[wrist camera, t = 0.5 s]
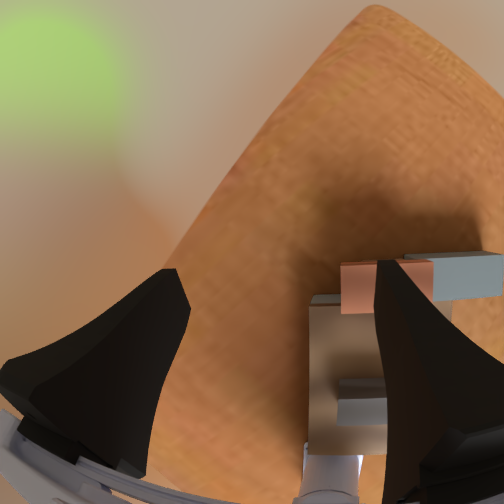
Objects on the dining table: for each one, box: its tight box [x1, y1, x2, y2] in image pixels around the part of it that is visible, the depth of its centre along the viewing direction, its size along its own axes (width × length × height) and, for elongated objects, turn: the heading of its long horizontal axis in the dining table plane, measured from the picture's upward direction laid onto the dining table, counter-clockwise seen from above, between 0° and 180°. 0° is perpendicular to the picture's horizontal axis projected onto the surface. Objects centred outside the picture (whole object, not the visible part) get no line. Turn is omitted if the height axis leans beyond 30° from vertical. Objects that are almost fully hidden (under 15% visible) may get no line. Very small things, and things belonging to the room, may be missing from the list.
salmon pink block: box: [340, 259, 434, 314], centre depth 25 cm, size 4×8×2 cm, turn 96°
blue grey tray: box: [310, 251, 504, 304], centre depth 28 cm, size 22×20×5 cm
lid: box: [307, 258, 453, 455], centre depth 26 cm, size 22×14×6 cm, turn 6°
